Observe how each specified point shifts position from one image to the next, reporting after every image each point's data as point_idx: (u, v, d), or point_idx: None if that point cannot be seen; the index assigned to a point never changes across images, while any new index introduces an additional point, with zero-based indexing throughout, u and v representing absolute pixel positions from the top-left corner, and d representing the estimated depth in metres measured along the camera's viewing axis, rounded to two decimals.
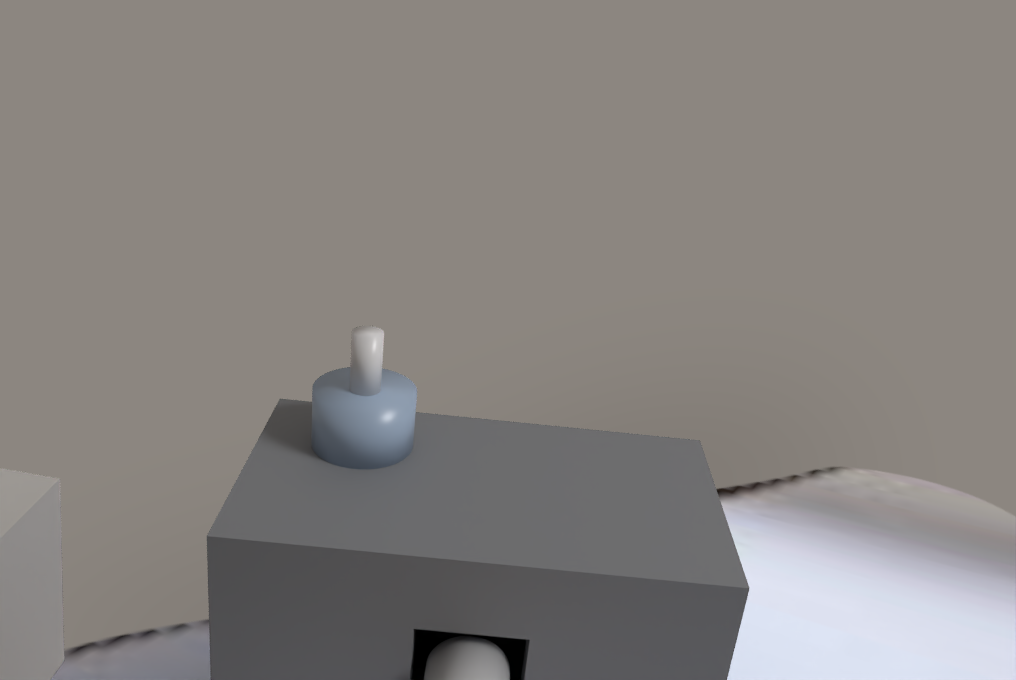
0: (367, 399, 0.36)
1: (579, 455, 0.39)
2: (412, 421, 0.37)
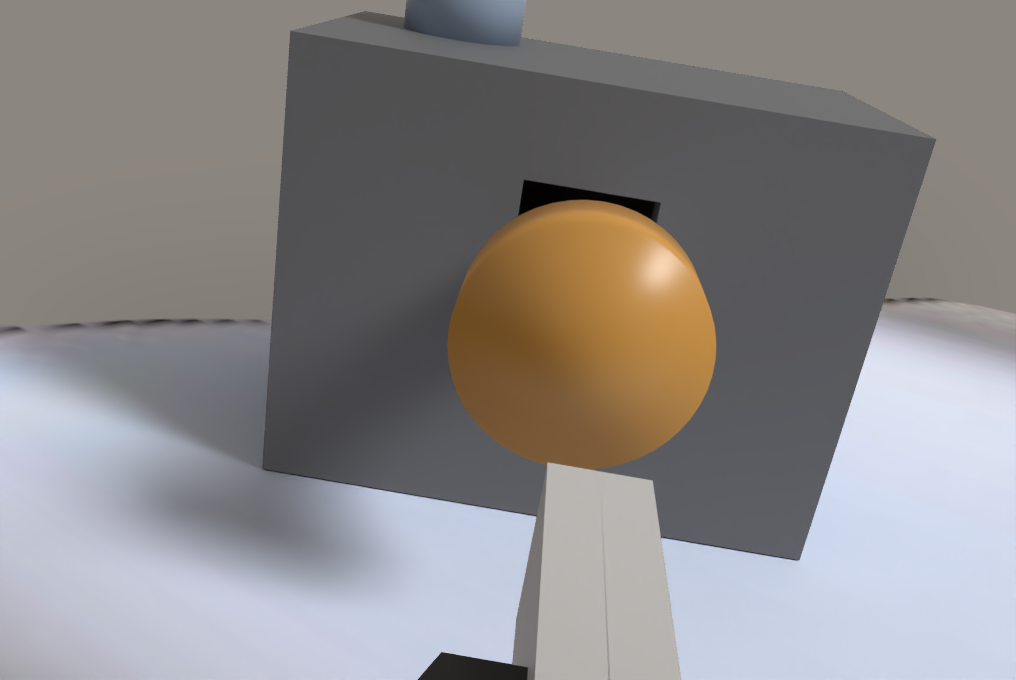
0: None
1: (709, 74, 0.33)
2: (523, 1, 0.32)
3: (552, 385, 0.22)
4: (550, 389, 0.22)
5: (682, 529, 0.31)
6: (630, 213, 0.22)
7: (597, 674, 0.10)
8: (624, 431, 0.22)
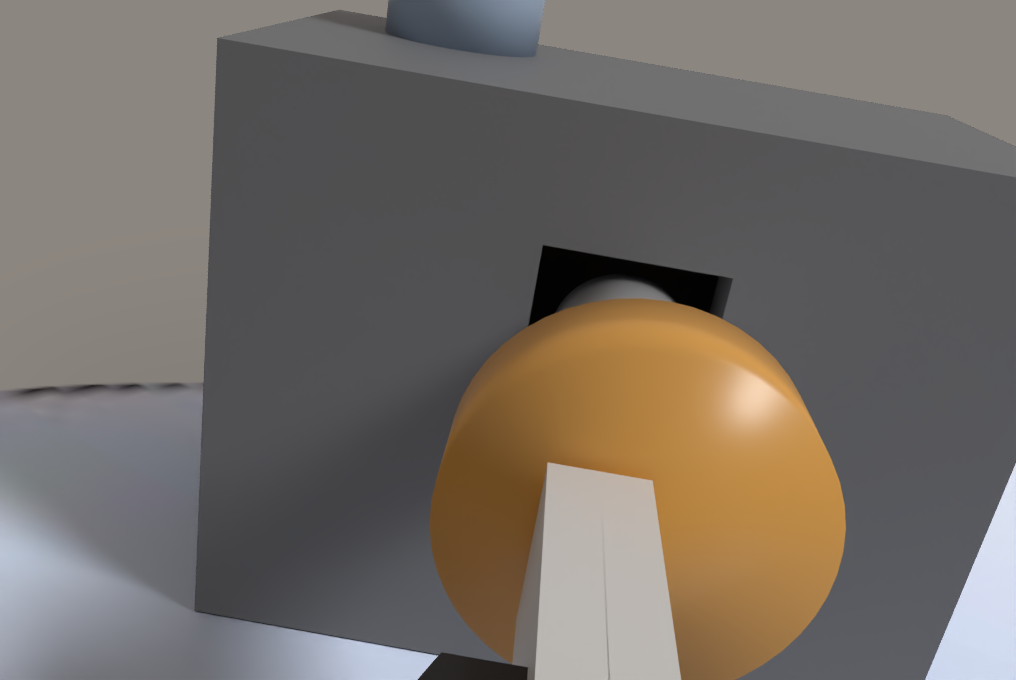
0: None
1: (781, 95, 0.26)
2: None
3: None
4: None
5: None
6: (710, 322, 0.14)
7: (597, 674, 0.10)
8: (697, 649, 0.15)
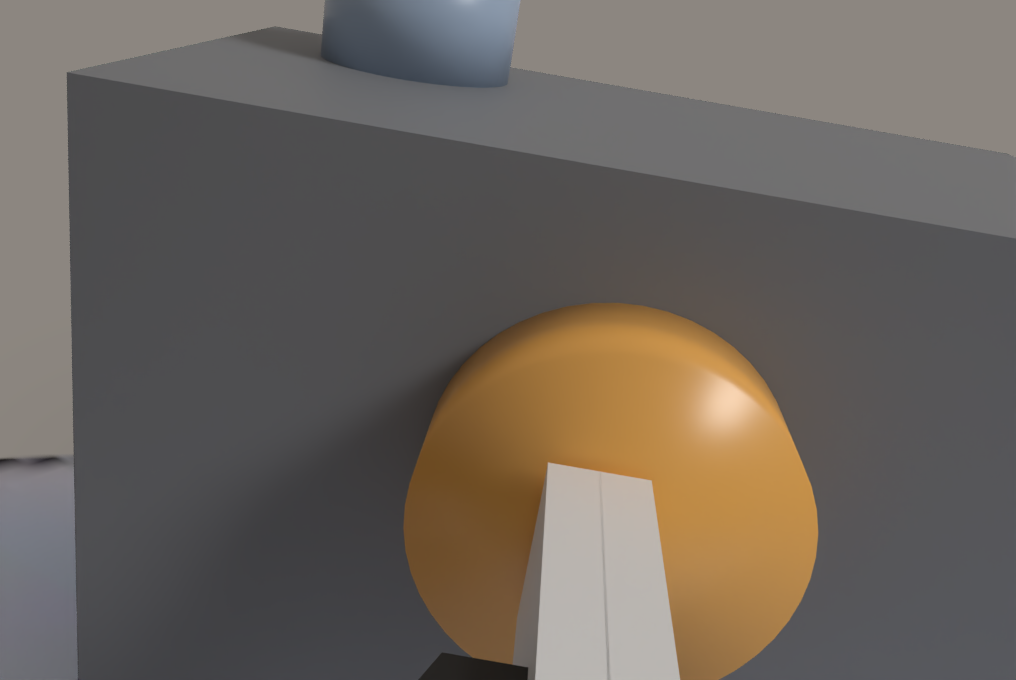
0: None
1: (809, 132, 0.21)
2: (514, 15, 0.19)
3: None
4: None
5: None
6: (684, 327, 0.14)
7: (597, 674, 0.10)
8: None
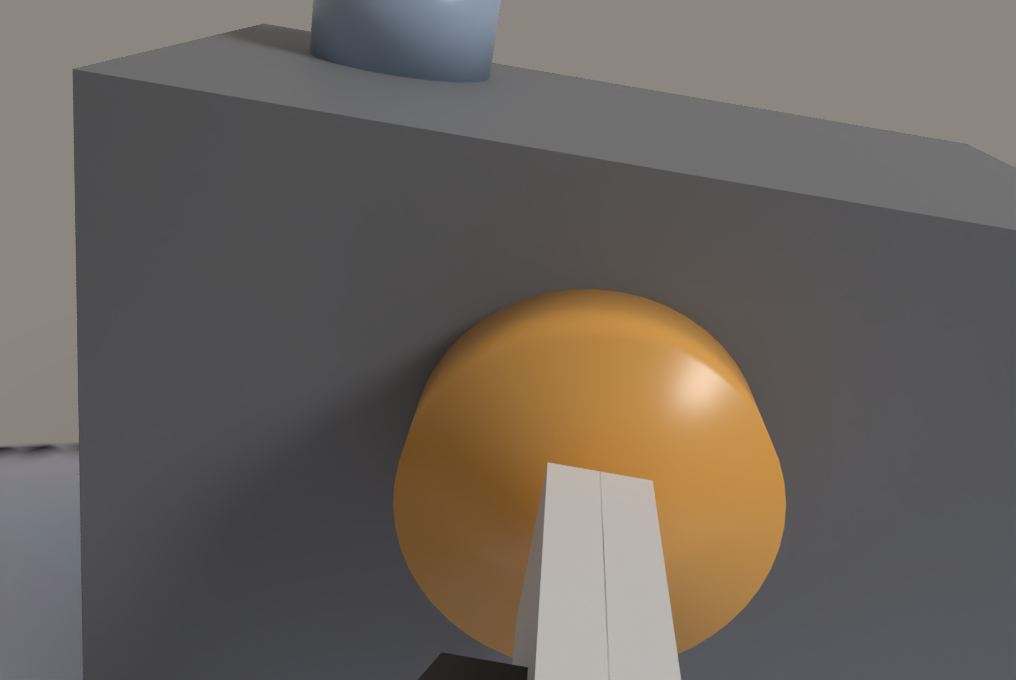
0: None
1: (777, 123, 0.22)
2: (495, 13, 0.20)
3: None
4: None
5: None
6: (659, 311, 0.15)
7: (597, 674, 0.10)
8: None
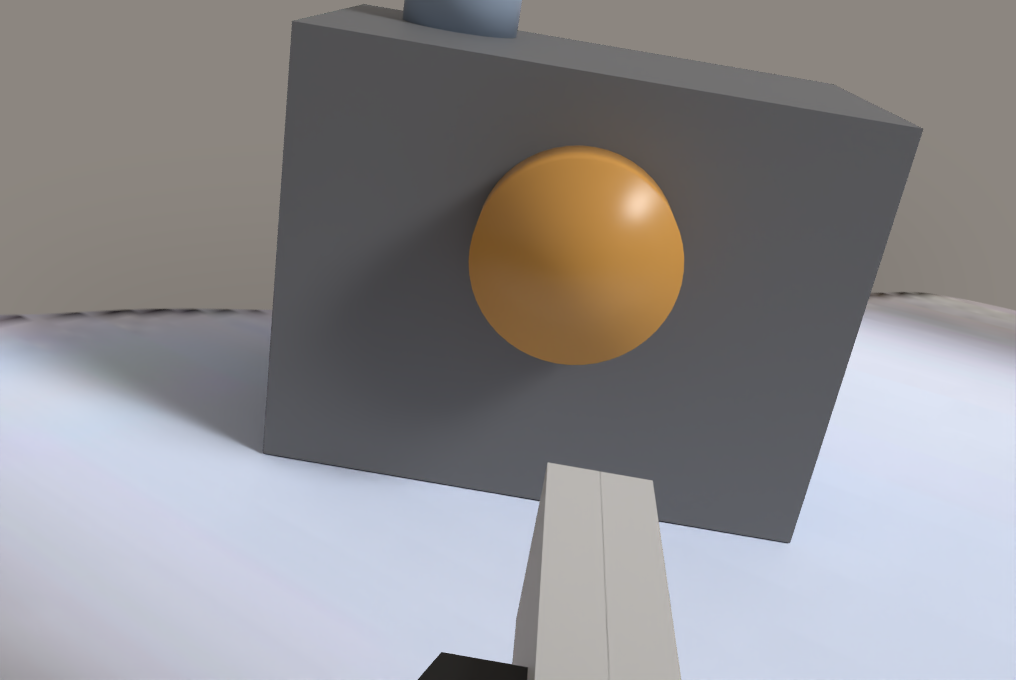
0: None
1: (702, 67, 0.34)
2: None
3: (552, 294, 0.27)
4: (551, 297, 0.27)
5: (675, 513, 0.32)
6: (615, 155, 0.27)
7: (597, 674, 0.10)
8: (610, 332, 0.27)
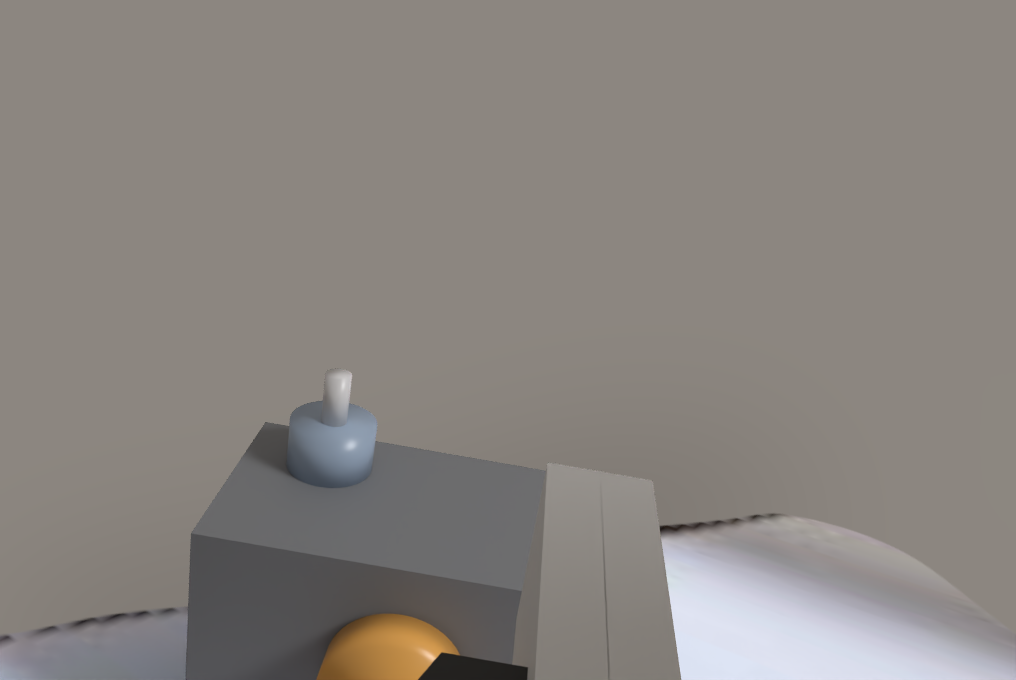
0: (334, 429, 0.44)
1: (510, 489, 0.46)
2: (371, 450, 0.44)
3: None
4: None
5: None
6: (415, 625, 0.39)
7: (597, 674, 0.10)
8: None
